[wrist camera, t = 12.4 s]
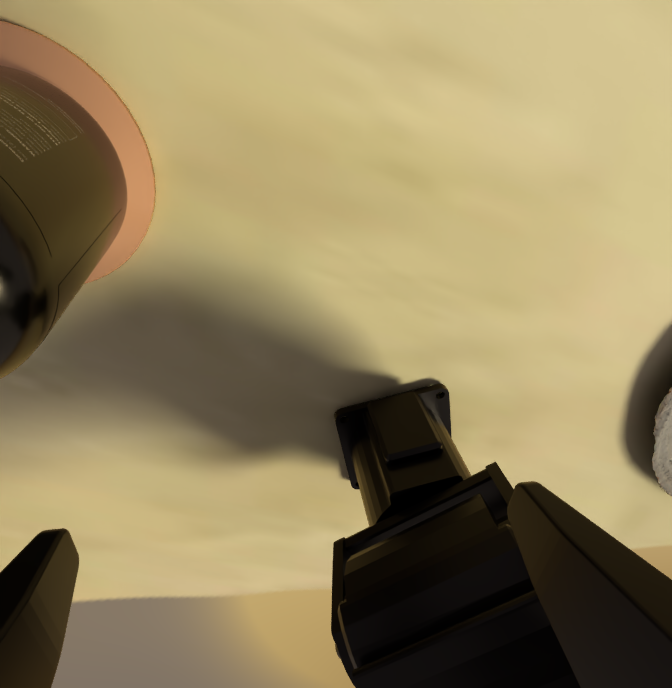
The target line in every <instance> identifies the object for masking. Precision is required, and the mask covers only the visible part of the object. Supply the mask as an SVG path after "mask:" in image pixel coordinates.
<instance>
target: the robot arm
mask: <svg viewBox="0 0 672 688" xmlns="http://www.w3.org/2000/svg"><path fill="white" fill-rule="evenodd" d="M439 392H441V393H440V394H437V393H439ZM436 394H437V395H436ZM343 416H346V418H343V419H341V417H343ZM334 418H335V422H336V426H337V430H338V434H339V438H340V442H341V446H342V450H343V454H344V458H345V462H346V466H347V470H348V474H349V478H350V482H351V486H352V487H353V488H354V489H360V492H361V496H362V500H363V504H364V507H365V511H366V515H367V519H368V523H369V527H368V528H366V529H364V530H362V531H360V532H358V533H356V534H354V535H352V536H350V537H348V538H346V539H345V538H344V537H343V538H341V539H339V540H337V541H335V542H334V547H333V576H332V619H331V620H332V622H331V631H332V636H333V639H334V641H335V643H336V644H335V647H336V652H337V655H338V656H339V658H340V659H341V660H342V663H343V665H344V667H345V670H346V672H347V674H348V676H349V678H350V679H351V681H352V683H353V685H354V686H355V687H356V688H672V580H671V579H670V578H669V577H667V576H666V575H664V574H663V573H661V572H660V571H659V570H658V569H656V568H655V567H653V566H652V565H651V564H649V563H648V562H647V561H645V560H644V559H642V558H641V557H640V556H638V555H637V554H636V553H634V552H633V551H631V550H630V549H629V548H627V547H626V546H625V545H623V544H622V543H621V542H619V541H618V540H616V539H615V538H614V537H612V536H611V535H610V534H608V533H607V532H605V531H604V530H603V529H601V528H600V527H599V526H597V525H596V524H594V523H593V522H592V521H590V520H589V519H588V518H586V517H585V516H584V515H582V514H581V513H579V512H578V511H577V510H575V509H574V508H573V507H571V506H570V505H568V504H567V503H566V502H564V501H563V500H562V499H560V498H559V497H557V496H556V495H555V494H553V493H552V492H551V491H549V490H548V489H546V488H545V487H544V486H542V485H541V484H539V483H537V482H533V481H531V482H521V483H518V484H517V485H516V486H515V488H514V489H513V488H512V486H511V485H510V483H509V482H508V480H507V479H506V477H505V475H504V474H503V472H502V471H501V469H500V468H499V466H498V465H497V463H496V462H494V463H492V464H490V465H488V466H486V469H484V470H482V471H480V472H478V473H476V474H474V475H472V476H471V474H470V472H469V470H468V469H467V467H466V465H465V463H464V461H463V459H462V457H461V456H460V454H459V452H458V450H457V448H456V446H455V444H454V443H453V441H452V439H451V421H450V402H449V392H448V390H447V388H446V386H445V385H443V384H436V385H432V386H428V387H424V388H420V389H416V390H412V391H408V392H405V393H401V394H397V395H393V396H389V397H385V398H381V399H377V400H373V401H369V402H365V403H361V404H357V405H353V406H349V407H345V408H341V409H339V410H337V411H336V412H335V414H334ZM78 567H79V555H78V552H77V550H76V547H75V545H74V542H73V540H72V538H71V535H70V533H69V531H68V530H66V529H64V528H62V529H52V530H45V531H42V532H40V533H39V534H38V535H37V536H35V538H34V539H33V540H32V541H31V542H30V543H29V544H28V545H27V546H26V547H25V548H24V549H23V550H22V551H21V552H20V553H19V554H18V555H17V556H16V557H15V558H14V559H13V560H12V561H11V562H10V563H9V564H8V565H7V566H6V567H5V568H4V569H3V570H2V571H1V572H0V688H51V685H52V683H53V679H54V676H55V673H56V670H57V666H58V663H59V659H60V655H61V651H62V647H63V642H64V637H65V632H66V627H67V622H68V617H69V612H70V607H71V602H72V597H73V592H74V587H75V582H76V577H77V573H78Z"/></svg>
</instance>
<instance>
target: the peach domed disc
mask: <svg viewBox="0 0 672 688" xmlns="http://www.w3.org/2000/svg"><path fill="white" fill-rule="evenodd" d="M0 65H1V66H6V67H10V68H14V69H18V70H21V71H24V72H27V73H29V74H32V75H34V76H37V77H39V78H41V79H43V80H45V81H47V82H49V83H51V84H52V85H54V86H56V87H57V88H59V89H61V90H62V91H63V92H65V93H66V94H68V95H69V96H70V97H72V98H73V99H74V100H75V101H76V102H78V103H79V104H80V105H81V106H82V107H83V108H84V109H85V110H86V111H87V112H88V113H89V114H90V115H91V116H92V117H93V118H94V119H95V120H96V121H97V122H98V124H99V125H100V126H101V128H102V129H103V130H104V132H105V133H106V135H107V136H108V138H109V139H110V141H111V143H112V144H113V146H114V148H115V150H116V152H117V154H118V157H119V159H120V161H121V164H122V167H123V170H124V175H125V179H126V185H127V209H126V214H125V218H124V221H123V224H122V226H121V229H120V231H119V233H118V235H117V236H116V238H115V239H114V241H113V243H112V244H111V246H110V247H109V249H108V250H107V252H106V253H105V255H104V256H103V257H102V259H101V260H100V262H99V263H98V264H97V266H96V267H95V269H94V270H93V271H92V273H91V274H90V276H89V277H88V279H87V280H86V281H85V283H88V282H91V281H95V280H97V279H99V278H101V277H104V276H106V275H108V274H110V273H111V272H113V271H114V270H116V269H117V268H119V267H120V266H121V265H122V264H123V263H125V262H126V261H127V260H128V259H129V258H130V257H131V256H132V254H133V253H134V252H135V251H136V250H137V248H138V247H139V245H140V243H141V242H142V240H143V238H144V236H145V235H146V233H147V230H148V228H149V225H150V223H151V220H152V216H153V211H154V207H155V193H156V190H155V175H154V170H153V165H152V160H151V157H150V154H149V151H148V147H147V144H146V142H145V140H144V137H143V135H142V133H141V131H140V129H139V126H138V124H137V123H136V121H135V119H134V118H133V116H132V114H131V113H130V111H129V109H128V108H127V107H126V105H125V104H124V103H123V101H122V100H121V99H120V97H119V96H118V95H117V93H116V92H115V91H114V90H113V89H112V88H111V86H110V85H109V84H108V83H107V82H106V81H105V80H104V79H103V78H102V77H101V76H100V75H99V74H98V73H97V72H96V71H95V70H94V69H92V68H91V67H90V66H89V65H88V64H87V63H86V62H84V61H83V60H82V59H80V58H79V57H78V56H76V55H75V54H73V53H72V52H71V51H69V50H68V49H66V48H65V47H63V46H61V45H60V44H58V43H56V42H54V41H52V40H51V39H49V38H47V37H45V36H43V35H41V34H38V33H36V32H34V31H31V30H29V29H27V28H24V27H21V26H18V25H14V24H11V23H8V22H4V21H0ZM85 283H84V284H85Z"/></svg>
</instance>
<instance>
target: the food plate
mask: <svg viewBox="0 0 672 688" xmlns="http://www.w3.org/2000/svg"><path fill="white" fill-rule="evenodd" d="M655 422H656V424H655V425H656V426H655V427H654V428H655V429H654V433H653V434H654V436H655V440H656V444H655V445H654V453H653V455H654V456H653V457H652V458H653V459H652V461H653V463H652V464H653V465H654V466H653V470H654V471H655V473H656V477H657V479H658V483H659V485H661V486H660V487H663V489H664V491H666V492H667V493H668V494H669V495H671V496H672V387H671V388H670V389H669V393H668V394H667V395H666V396H665V397H664V400H663V401H662V402H661V403H660V406H659V409H658V412H657V414H656V416H655Z"/></svg>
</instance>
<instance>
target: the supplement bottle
mask: <svg viewBox="0 0 672 688" xmlns="http://www.w3.org/2000/svg"><path fill="white" fill-rule="evenodd" d="M126 209H127V185H126V179H125V175H124V170H123V167H122V164H121V161H120V159H119V157H118V154H117V152H116V150H115V148H114V146H113V144H112V143H111V141H110V139H109V138H108V136H107V135H106V133H105V132H104V130H103V129H102V128H101V126H100V125H99V124H98V122H97V121H96V120H95V119H94V118H93V117H92V116H91V115H90V114H89V113H88V112H87V111H86V110H85V109H84V108H83V107H82V106H81V105H80V104H79V103H78V102H76V101H75V100H74V99H73V98H72V97H70V96H69V95H68V94H66V93H65V92H63V91H62V90H61V89H59V88H57V87H56V86H54V85H52V84H51V83H49V82H47V81H45V80H43V79H41V78H39V77H37V76H34V75H32V74H29V73H27V72H24V71H21V70H18V69H14V68H10V67H6V66H1V65H0V379H1V378H3V377H5V376H6V375H8V374H10V373H11V372H12V371H14V370H15V369H16V368H18V367H19V366H20V365H22V364H23V363H24V362H25V361H26V360H27V359H28V358H29V357H30V356H31V355H32V354H33V352H34V351H35V350H36V349H37V348H38V346H39V345H40V344H41V343H42V341H43V340H44V339H45V338H46V336H47V335H48V333H49V332H50V331H51V329H52V328H53V326H54V325H55V324H56V322H57V321H58V319H59V318H60V317H61V315H62V314H63V312H64V311H65V310H66V308H67V307H68V305H69V304H70V302H71V301H72V300H73V298H74V297H75V295H76V294H77V293H78V291H79V290H80V288H81V287H82V286H83V284H84V283H85V281H86V280H87V279H88V277H89V276H90V274H91V273H92V271H93V270H94V269H95V267H96V266H97V264H98V263H99V262H100V260H101V259H102V257H103V256H104V255H105V253H106V252H107V250H108V249H109V247H110V246H111V244H112V243H113V241H114V239H115V238H116V236H117V235H118V233H119V231H120V229H121V226H122V224H123V221H124V218H125V214H126Z"/></svg>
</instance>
